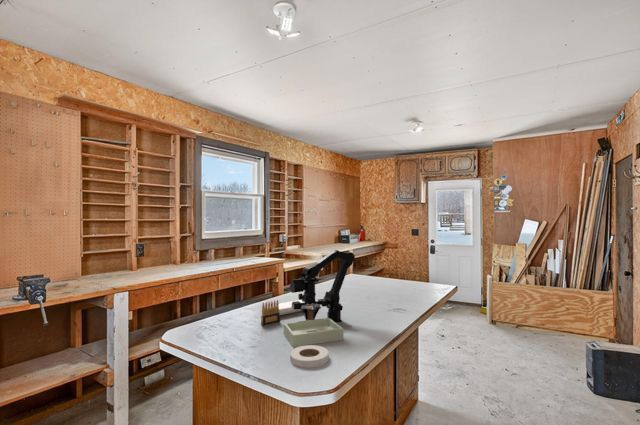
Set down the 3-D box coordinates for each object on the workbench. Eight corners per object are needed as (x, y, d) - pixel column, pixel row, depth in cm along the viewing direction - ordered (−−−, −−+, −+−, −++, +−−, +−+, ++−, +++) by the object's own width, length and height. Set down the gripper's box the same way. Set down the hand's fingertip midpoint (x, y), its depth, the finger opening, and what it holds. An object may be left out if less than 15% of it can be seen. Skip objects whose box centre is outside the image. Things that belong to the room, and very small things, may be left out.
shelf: (315, 311, 197) (315, 302, 197) (272, 320, 179) (272, 310, 179) (305, 307, 206) (305, 298, 206) (263, 315, 188) (263, 306, 188)
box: (329, 327, 164) (329, 317, 165) (343, 339, 147) (343, 328, 148) (283, 333, 156) (283, 323, 156) (293, 346, 139) (293, 335, 140)
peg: (312, 323, 171) (312, 308, 171) (314, 325, 168) (314, 310, 168) (305, 324, 170) (305, 309, 170) (307, 326, 166) (307, 311, 167)
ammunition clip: (262, 326, 168) (262, 303, 168) (261, 325, 169) (260, 302, 170) (279, 321, 175) (279, 299, 175) (277, 321, 176) (277, 299, 177)
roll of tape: (282, 362, 125) (282, 355, 125) (304, 349, 138) (304, 342, 138) (315, 372, 117) (315, 364, 117) (335, 356, 130) (335, 349, 130)
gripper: (321, 286, 180) (321, 314, 180) (288, 289, 174) (289, 318, 173) (328, 290, 170) (328, 320, 169) (294, 293, 163) (294, 324, 163)
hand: (310, 320), depth 169 cm, fingers closed on peg, 4 cm apart
